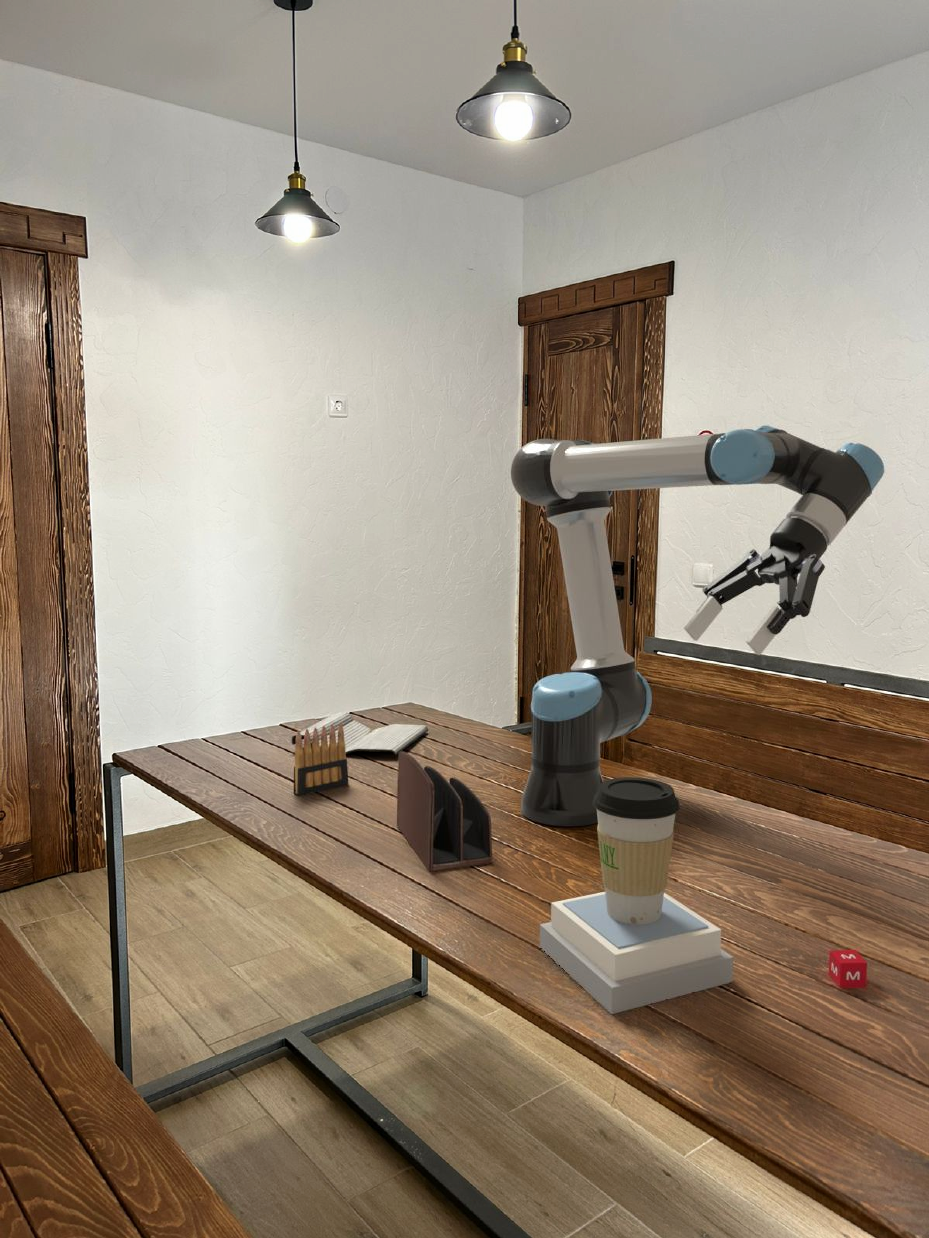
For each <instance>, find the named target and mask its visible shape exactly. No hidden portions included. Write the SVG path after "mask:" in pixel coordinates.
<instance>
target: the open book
mask: <svg viewBox="0 0 929 1238" xmlns="http://www.w3.org/2000/svg"><path fill="white" fill-rule="evenodd" d="M340 723H341V724H342V726H343V730H344V741H345V750H346V755H347V754H350V753H353V752H373V753H374V752H393V754H394V755H395V758H394V759H397V757H398V756H397V755H399V752H402V751H403V750H405V749H406V748H407V747H408V746H410V745H411V744H412V743H413V742H415V741H417V740H418V739H419V738H420V737H422V736H423V735H426V734H427V732H428V731H429V730H430V729H429V728H428V727H427V726H426V725H425V724H423V725H422V724H421V725H420V724H399V723H393V724H389V725H386V726H383V727H379V728H375V729H374V730H372V729H371V728H370V727H368V726H366V725H364V724H363V723H360V722H359V721H357V720H355V719H354V718H353V716H352V715H351V714H350V713H348V712H344V711H343V712H341V711H340V712H338V711H337V712H335V713H333V714H332V715H329V716H328V717H325V718H324V719H322V720H320V721H318V722H317V723H314V724H313V725H310V726H309V727H307V728H305V729H303V730H301V731H300V734H301V738H302V741H304V736H305V731H306V729H308V731H309V734H310V739H311V744H312V743H313V731H314V728H315V727H316V728H317V731H318V735H319V745H320V746H321V732H322V728H323V726H325V728H326V732H327V741H328V747H329V734H330V728H331V725H332V724H333V726H334V729H335V734H336V744H337V742H338V728H339V724H340ZM371 730H372V731H371ZM291 745H296V734H294V735H292V737H291Z"/></svg>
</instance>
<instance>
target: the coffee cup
mask: <svg viewBox="0 0 929 1238" xmlns="http://www.w3.org/2000/svg"><path fill="white" fill-rule="evenodd" d="M675 793H676V792H675V789H674V788H673V786H671V785H670V784H669V783H667V782H665V781H661V780H658V779H657V780H656V779H653V778H647V777H646V778H645V777H633V776H631V777H630V776H629V777H617V778H610V779H607V780H603V782H602V783H601V784H600V785H599V788H598V792H597V793H596V794H595V795H594V799H593V806H594V807H595V808H596V809H597V817H598V823H597V827H596V831H597V839H598V849H599V858H600V866H601V867H600V868H601V876H602V884H603V886H604V892H605V896H606V906H607V913H608V915H609V916H610V917H611V918H612V919H614V920H616V921H619V922H621V923H625V924H631V925H645V924H650V923H653V922H656V921H657V920H659V919H660V917H661V911H662V904H663V897H664V893H665V890H666V888H667V883H668V878H669V871H670V870H669V869H670V863H671V857H672V850H673V843H674V838H675V837H674V835H675V829H674V826H675V825H674V824H675V819H676V814H677V813H678V812H679V811H680V809H681V806H680V800H679V799H678V797H676V794H675Z"/></svg>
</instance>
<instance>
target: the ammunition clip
mask: <svg viewBox="0 0 929 1238" xmlns="http://www.w3.org/2000/svg"><path fill="white" fill-rule="evenodd" d="M305 729H306V731H305V736H304V739H303V740H302V738H301V734H300V732H301V731H300V730H299V729H298V730H297V732H296V733H295V735H296V744H295V747H294V749H295V750H294V767H293V794H295V795H296V796H299V797H300V796H305V795H309V794H314V793H318V792H322V791H328V790H331V789H337V788H341V787H344V786H349V785H350V784H349V771H348V770H349V769H348V758H347V757H346V756H347V754H346V750H345V741H344V730H343V726H342V724H341V723H340V724H339V728H338V742H337V744H336V734H335V729H334V726H333V724H332V725H331V728H330V734H329V747H328V741H327V732H326V728H325V726H323V728H322V732H321V746H320V745H319V735H318V731H317V728H316V727H315V728H314V731H313V743H312V741H311V739H310V734H309V731H308V729H307V728H305Z"/></svg>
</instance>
